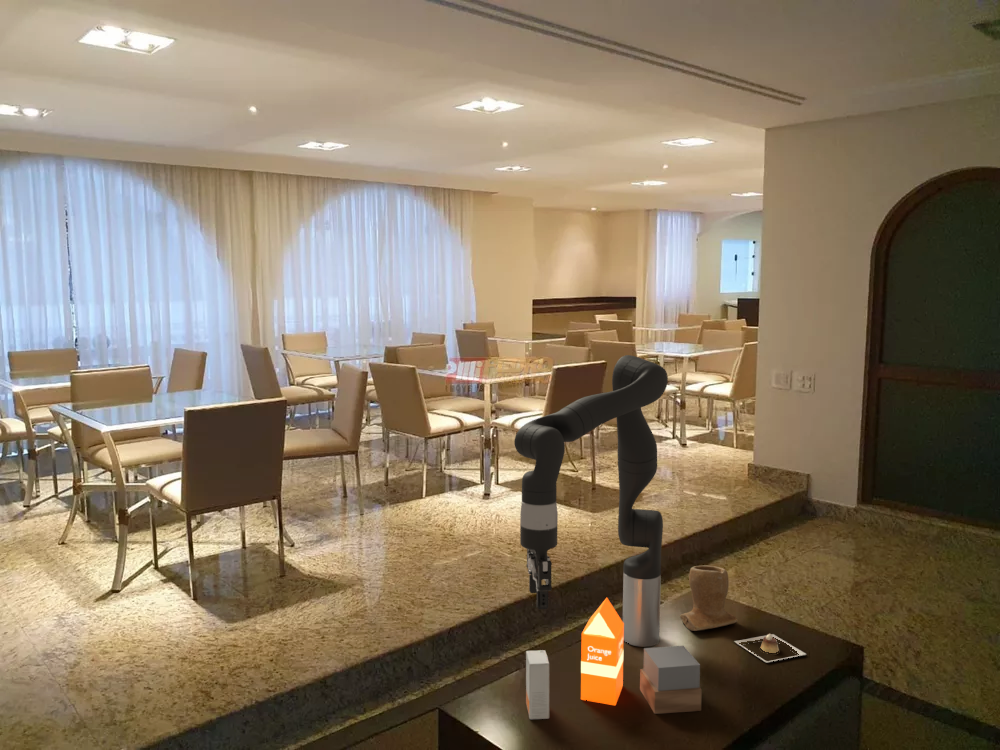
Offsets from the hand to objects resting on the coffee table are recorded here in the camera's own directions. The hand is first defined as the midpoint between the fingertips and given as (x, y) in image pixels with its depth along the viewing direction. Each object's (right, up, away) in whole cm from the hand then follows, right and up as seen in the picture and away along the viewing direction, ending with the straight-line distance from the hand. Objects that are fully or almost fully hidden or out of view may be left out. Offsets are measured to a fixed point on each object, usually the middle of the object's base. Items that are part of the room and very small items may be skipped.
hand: (538, 600), depth 156 cm
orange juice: (+14, -23, +10) cm, 29 cm away
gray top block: (+29, -19, +7) cm, 35 cm away
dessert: (+58, -22, +31) cm, 69 cm away
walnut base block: (+29, -24, +7) cm, 38 cm away
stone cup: (+47, -20, +46) cm, 68 cm away
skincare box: (0, -24, +2) cm, 24 cm away
